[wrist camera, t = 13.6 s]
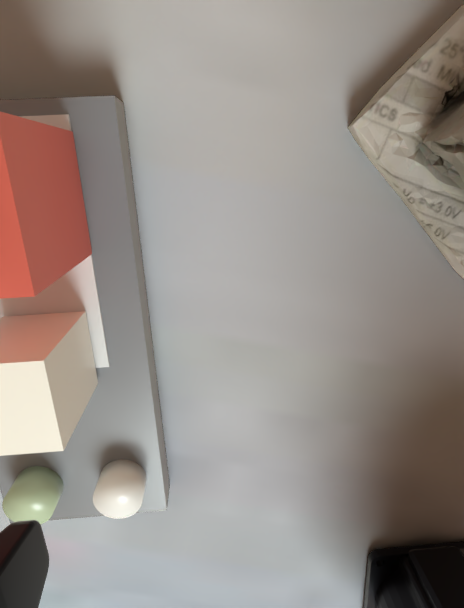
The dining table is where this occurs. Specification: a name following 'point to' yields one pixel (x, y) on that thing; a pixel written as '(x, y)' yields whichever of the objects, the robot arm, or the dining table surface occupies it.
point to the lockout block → (38, 206)
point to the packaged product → (424, 136)
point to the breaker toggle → (43, 380)
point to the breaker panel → (97, 340)
